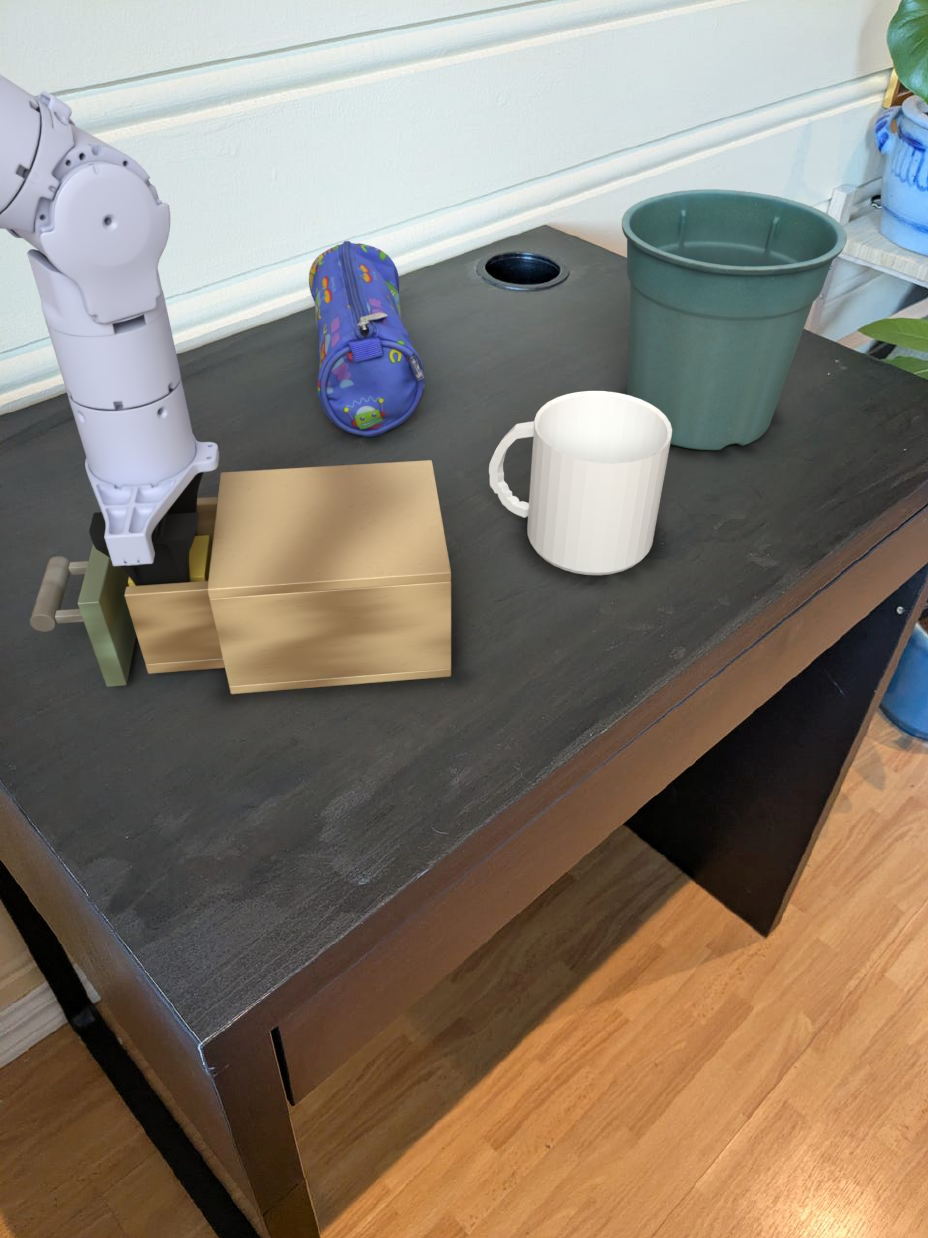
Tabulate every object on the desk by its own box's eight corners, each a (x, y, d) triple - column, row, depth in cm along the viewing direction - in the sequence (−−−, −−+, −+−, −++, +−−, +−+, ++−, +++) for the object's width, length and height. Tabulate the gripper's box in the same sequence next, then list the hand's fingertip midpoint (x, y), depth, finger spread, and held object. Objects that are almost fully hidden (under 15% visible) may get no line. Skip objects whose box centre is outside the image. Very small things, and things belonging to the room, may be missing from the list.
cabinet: (230, 694, 58) (206, 589, 52) (240, 574, 66) (220, 471, 61) (451, 677, 59) (451, 572, 54) (433, 560, 68) (431, 459, 62)
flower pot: (562, 395, 85) (579, 207, 74) (707, 352, 91) (741, 174, 80) (681, 489, 74) (721, 287, 63) (836, 434, 80) (896, 241, 69)
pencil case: (428, 441, 79) (426, 332, 72) (323, 449, 78) (311, 339, 71) (399, 322, 95) (396, 223, 88) (312, 327, 94) (302, 228, 87)
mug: (670, 523, 71) (691, 412, 65) (623, 593, 65) (641, 478, 59) (525, 477, 75) (531, 368, 69) (468, 538, 69) (470, 426, 63)
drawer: (38, 692, 57) (2, 608, 52) (69, 581, 64) (40, 499, 60) (316, 671, 58) (304, 587, 54) (315, 564, 66) (305, 483, 61)
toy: (140, 624, 58) (121, 560, 55) (148, 581, 61) (130, 518, 58) (214, 618, 59) (199, 554, 55) (218, 576, 62) (204, 513, 58)
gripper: (190, 455, 45) (234, 660, 54) (213, 317, 55) (246, 508, 65) (34, 464, 44) (105, 670, 53) (87, 322, 55) (139, 515, 64)
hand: (175, 582), depth 59 cm, fingers closed on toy, 4 cm apart
